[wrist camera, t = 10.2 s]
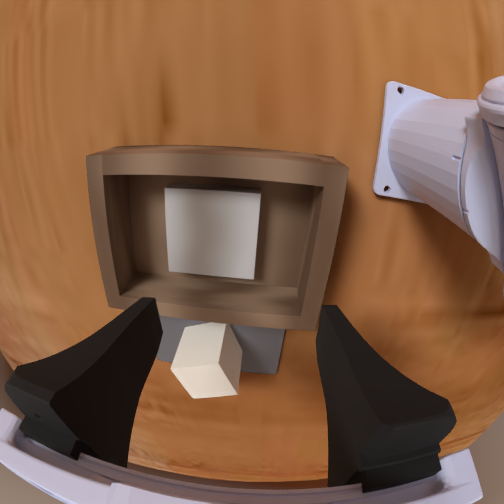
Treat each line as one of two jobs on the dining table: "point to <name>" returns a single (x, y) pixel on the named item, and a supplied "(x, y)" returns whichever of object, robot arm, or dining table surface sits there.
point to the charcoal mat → (249, 338)
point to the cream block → (208, 360)
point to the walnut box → (217, 231)
